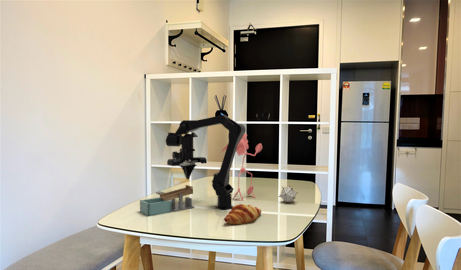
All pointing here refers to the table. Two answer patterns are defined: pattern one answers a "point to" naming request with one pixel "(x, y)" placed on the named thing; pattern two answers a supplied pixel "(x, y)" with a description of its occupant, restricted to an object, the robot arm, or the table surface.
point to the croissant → (242, 214)
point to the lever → (175, 193)
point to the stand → (182, 204)
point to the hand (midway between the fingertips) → (187, 179)
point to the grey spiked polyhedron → (288, 194)
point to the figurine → (242, 149)
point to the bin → (155, 206)
